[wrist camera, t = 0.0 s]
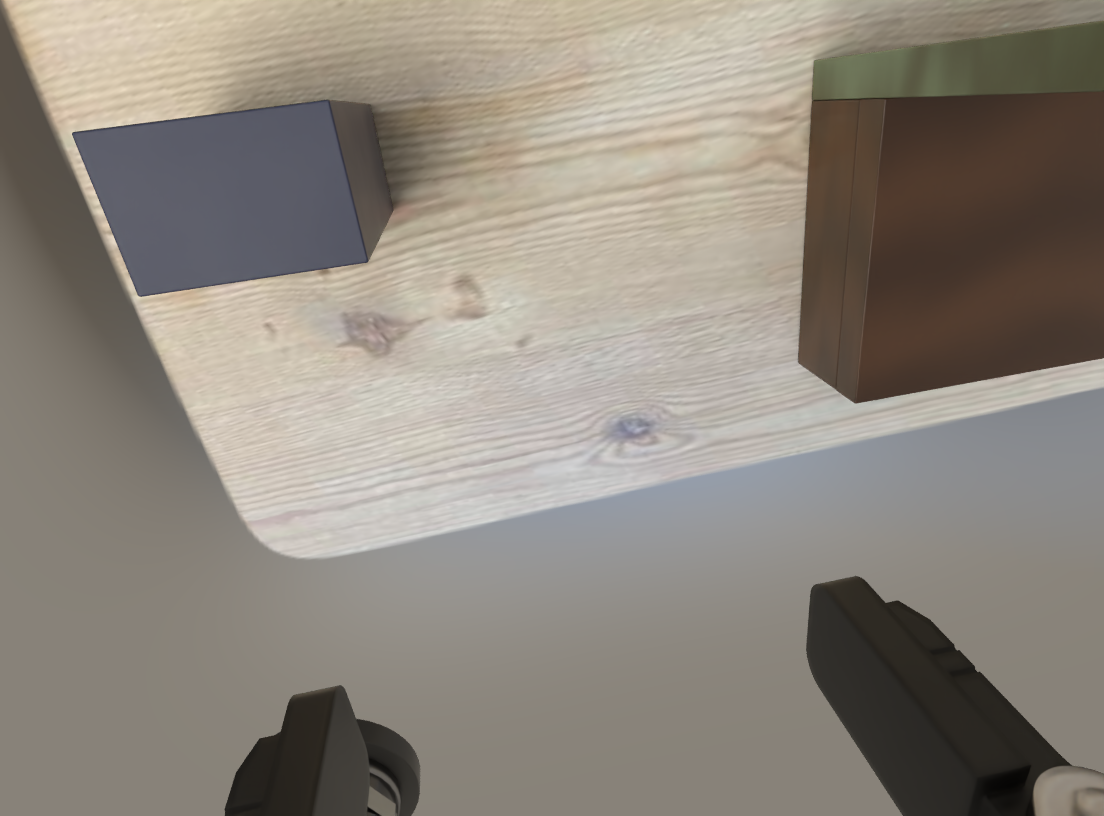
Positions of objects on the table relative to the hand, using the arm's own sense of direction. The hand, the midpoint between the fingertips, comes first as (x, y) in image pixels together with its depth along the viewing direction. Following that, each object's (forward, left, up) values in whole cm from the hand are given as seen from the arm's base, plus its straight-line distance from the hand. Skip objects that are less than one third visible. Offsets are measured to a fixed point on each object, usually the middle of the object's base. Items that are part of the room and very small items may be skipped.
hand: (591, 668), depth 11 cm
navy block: (+7, +7, -20) cm, 22 cm away
